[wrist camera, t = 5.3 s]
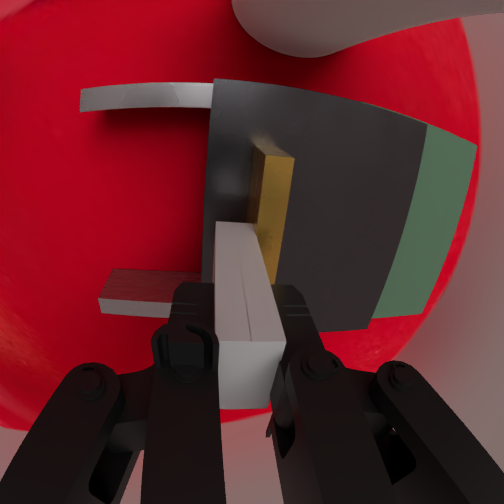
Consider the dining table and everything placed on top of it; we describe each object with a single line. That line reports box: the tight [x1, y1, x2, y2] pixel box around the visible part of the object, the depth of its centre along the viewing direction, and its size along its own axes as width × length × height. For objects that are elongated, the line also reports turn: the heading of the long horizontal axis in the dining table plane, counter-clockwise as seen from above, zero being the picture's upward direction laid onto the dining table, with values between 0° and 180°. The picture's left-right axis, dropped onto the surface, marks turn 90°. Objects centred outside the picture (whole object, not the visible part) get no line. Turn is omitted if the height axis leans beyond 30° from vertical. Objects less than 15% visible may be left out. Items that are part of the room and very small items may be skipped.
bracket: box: [80, 82, 213, 318], centre depth 16 cm, size 14×13×4 cm
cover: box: [202, 79, 428, 332], centre depth 13 cm, size 11×14×4 cm
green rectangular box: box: [358, 101, 477, 318], centre depth 18 cm, size 10×14×4 cm
